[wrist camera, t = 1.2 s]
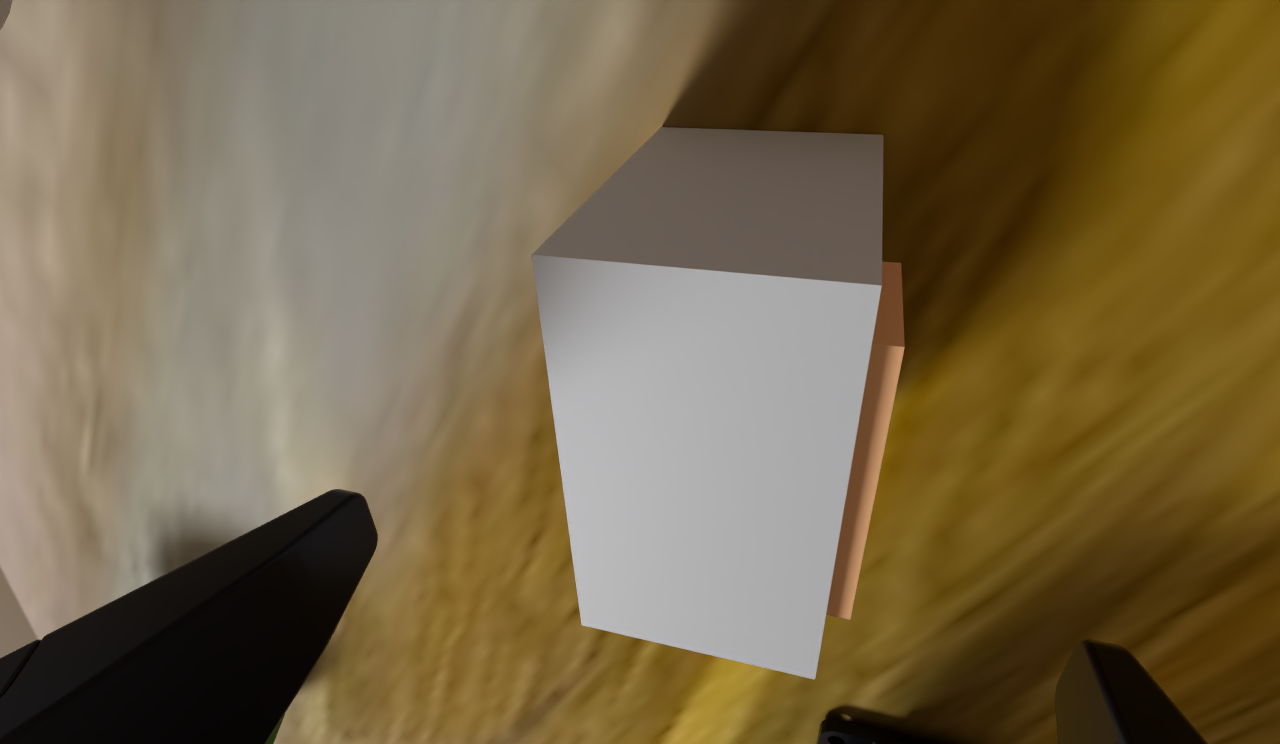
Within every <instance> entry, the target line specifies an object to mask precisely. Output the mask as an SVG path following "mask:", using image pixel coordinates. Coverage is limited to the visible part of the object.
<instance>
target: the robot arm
mask: <svg viewBox="0 0 1280 744" xmlns="http://www.w3.org/2000/svg"><path fill="white" fill-rule="evenodd" d="M377 541H378V534H377V530H376V528H375V525H374V522H373V519H372V516H371V513H370V510H369V507H368V504H367V502H366V499H365V498H364V497H363V496H362V495H361V494H359V493H356V492H351V491H346V490H341V489H334V490H331V491H328V492H326V493H324V494H322V495H320V496H318V497H316V498H314V499H313V500H311V501H309V502H307V503H305V504H303V505H301V506H299V507H297V508H295V509H293V510H291V511H289V512H287V513H285V514H283V515H281V516H279V517H277V518H275V519H273V520H271V521H269V522H267V523H265V524H263V525H261V526H260V527H258V528H256V529H254V530H252V531H250V532H248V533H246V534H244V535H242V536H240V537H238V538H236V539H234V540H232V541H230V542H228V543H226V544H224V545H222V546H220V547H218V548H216V549H214V550H212V551H210V552H209V553H207V554H205V555H203V556H201V557H199V558H197V559H195V560H193V561H191V562H189V563H187V564H185V565H183V566H181V567H179V568H177V569H175V570H173V571H171V572H169V573H167V574H165V575H163V576H161V577H159V578H157V579H155V580H153V581H152V582H150V583H148V584H146V585H144V586H142V587H140V588H138V589H136V590H134V591H132V592H130V593H128V594H126V595H124V596H122V597H120V598H118V599H116V600H114V601H112V602H110V603H108V604H106V605H104V606H102V607H100V608H98V609H96V610H95V611H93V612H91V613H89V614H87V615H85V616H83V617H81V618H79V619H77V620H75V621H73V622H71V623H69V624H67V625H65V626H63V627H61V628H59V629H57V630H55V631H53V632H51V633H49V634H47V635H46V636H44V638H43V639H42V640H35V641H33V642H32V643H30V644H27V645H26V646H24V647H22V648H20V649H18V650H16V651H14V652H12V653H10V654H8V655H6V656H4V657H2V658H0V744H266V742H267V741H268V739H269V737H270V736H271V734H272V733H273V731H274V730H275V728H276V726H277V725H278V723H279V722H280V720H281V718H282V717H283V715H284V714H285V712H286V711H287V709H288V707H289V706H290V704H291V703H292V701H293V699H294V698H295V696H296V695H297V693H298V691H299V690H300V688H301V687H302V685H303V684H304V682H305V680H306V679H307V677H308V676H309V674H310V672H311V671H312V669H313V668H314V666H315V665H316V663H317V661H318V660H319V658H320V656H321V655H322V653H323V651H324V650H325V648H326V646H327V644H328V642H329V640H330V639H331V637H332V635H333V633H334V631H335V629H336V627H337V625H338V623H339V621H340V619H341V617H342V615H343V613H344V611H345V609H346V607H347V605H348V603H349V601H350V600H351V598H352V596H353V594H354V592H355V590H356V588H357V586H358V584H359V582H360V580H361V578H362V576H363V574H364V572H365V570H366V568H367V566H368V564H369V562H370V560H371V558H372V556H373V554H374V552H375V549H376V546H377ZM1055 708H1056V720H1057V733H1058V744H1208V743H1207V742H1206V741H1205V740H1204V738H1203V737H1202V736H1201V735H1200V734H1199V733H1198V731H1197V730H1196V729H1195V728H1194V727H1193V725H1192V724H1191V723H1190V722H1189V721H1188V720H1187V718H1186V717H1185V716H1184V715H1183V714H1182V712H1181V711H1180V710H1179V709H1178V708H1177V706H1176V705H1175V704H1174V703H1173V702H1172V701H1171V699H1170V698H1169V697H1168V696H1167V695H1166V693H1165V692H1164V691H1163V690H1162V689H1161V688H1160V686H1159V685H1158V684H1157V683H1156V682H1155V680H1154V679H1153V678H1152V677H1151V676H1150V674H1149V673H1148V672H1147V671H1146V670H1145V669H1144V667H1143V666H1142V665H1141V664H1140V663H1139V661H1138V660H1137V659H1136V658H1135V657H1134V656H1133V654H1132V653H1131V652H1129V651H1128V650H1127V649H1125V648H1124V647H1122V646H1119V645H1115V644H1110V643H1105V642H1100V641H1095V640H1090V639H1083V640H1081V641H1079V642H1078V643H1077V645H1076V646H1075V648H1074V650H1073V652H1072V654H1071V656H1070V658H1069V660H1068V662H1067V664H1066V666H1065V668H1064V670H1063V672H1062V674H1061V676H1060V678H1059V681H1058V683H1057V687H1056V694H1055ZM817 744H936V743H932V742H928V741H924V740H920V739H916V738H912V737H908V736H904V735H900V734H896V733H891V732H887V731H883V730H879V729H875V728H871V727H867V726H863V725H859V724H855V723H851V722H847V721H843V720H839V719H826V720H824V721H822V723H821V724H820V729H819V734H818V740H817Z"/></svg>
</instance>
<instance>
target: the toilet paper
mask: <svg viewBox="0 0 1280 744" xmlns="http://www.w3.org/2000/svg"><path fill="white" fill-rule="evenodd" d="M11 4H12V0H0V30H1V28H2V27H3V25H4V23H5V21H6V19H7V17H8V15H9V13H10V8H11Z"/></svg>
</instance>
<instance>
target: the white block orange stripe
mask: <svg viewBox="0 0 1280 744" xmlns="http://www.w3.org/2000/svg"><path fill="white" fill-rule="evenodd" d="M883 143H884V135H876V134H847V133H818V132H789V131H760V130H732V129H703V128H674V127H661V128H660V129H659V130H658V131H657V132H656V133H655V134H654V135H653V136H652V137H651V138H650V139H649V140H648V141H647V142H646V143H645V144H644V145H643V146H642V147H641V148H640V149H639V150H638V151H637V152H636V153H634V154H633V155H632V156H631V157H630V158H629V159H628V160H627V161H626V162H625V163H624V164H623V165H622V166H621V167H620V168H619V169H618V170H617V171H616V172H615V173H614V174H613V175H612V176H611V177H610V178H609V179H608V180H607V181H606V182H605V183H604V184H603V185H602V186H601V187H600V188H599V189H598V190H597V191H596V192H595V193H594V194H593V195H592V196H591V197H590V198H589V199H588V200H587V201H586V202H585V203H584V204H583V205H582V206H581V207H580V208H579V209H578V210H577V211H576V212H575V213H574V214H573V215H572V216H571V217H569V218H568V219H567V220H566V221H565V222H564V223H563V224H562V225H561V226H560V227H559V228H558V229H557V230H556V231H555V232H554V233H553V234H552V235H551V236H550V237H549V238H548V239H547V240H546V241H545V242H544V243H543V244H542V245H541V246H540V247H539V248H538V249H537V250H536V251H535V252H534V253H533V254H532V261H533V268H534V276H535V283H536V290H537V298H538V305H539V313H540V320H541V328H542V335H543V342H544V350H545V357H546V365H547V372H548V379H549V387H550V394H551V402H552V409H553V416H554V424H555V431H556V439H557V446H558V454H559V461H560V468H561V476H562V483H563V491H564V498H565V505H566V513H567V520H568V528H569V535H570V542H571V550H572V557H573V565H574V572H575V580H576V587H577V594H578V602H579V609H580V617H581V624H582V625H584V626H588V627H592V628H597V629H601V630H605V631H609V632H614V633H618V634H622V635H626V636H631V637H635V638H639V639H644V640H648V641H652V642H656V643H661V644H665V645H669V646H674V647H678V648H682V649H686V650H691V651H695V652H699V653H704V654H708V655H712V656H716V657H721V658H725V659H729V660H733V661H738V662H742V663H746V664H751V665H755V666H759V667H763V668H768V669H772V670H776V671H781V672H785V673H789V674H793V675H798V676H802V677H806V678H811V679H815V677H816V671H817V665H818V659H819V653H820V647H821V641H822V635H823V629H824V624H825V618H826V615H830V616H835V617H840V618H845V619H849V620H850V618H851V613H852V608H853V603H854V598H855V593H856V588H857V583H858V578H859V573H860V568H861V563H862V558H863V553H864V548H865V543H866V538H867V533H868V528H869V523H870V518H871V513H872V508H873V503H874V498H875V493H876V488H877V483H878V478H879V473H880V468H881V463H882V458H883V453H884V448H885V443H886V438H887V433H888V428H889V423H890V418H891V413H892V408H893V403H894V398H895V393H896V388H897V383H898V378H899V373H900V368H901V363H902V358H903V353H904V348H905V342H904V318H903V293H902V269H901V263H895V262H883V261H882V225H883Z"/></svg>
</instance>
